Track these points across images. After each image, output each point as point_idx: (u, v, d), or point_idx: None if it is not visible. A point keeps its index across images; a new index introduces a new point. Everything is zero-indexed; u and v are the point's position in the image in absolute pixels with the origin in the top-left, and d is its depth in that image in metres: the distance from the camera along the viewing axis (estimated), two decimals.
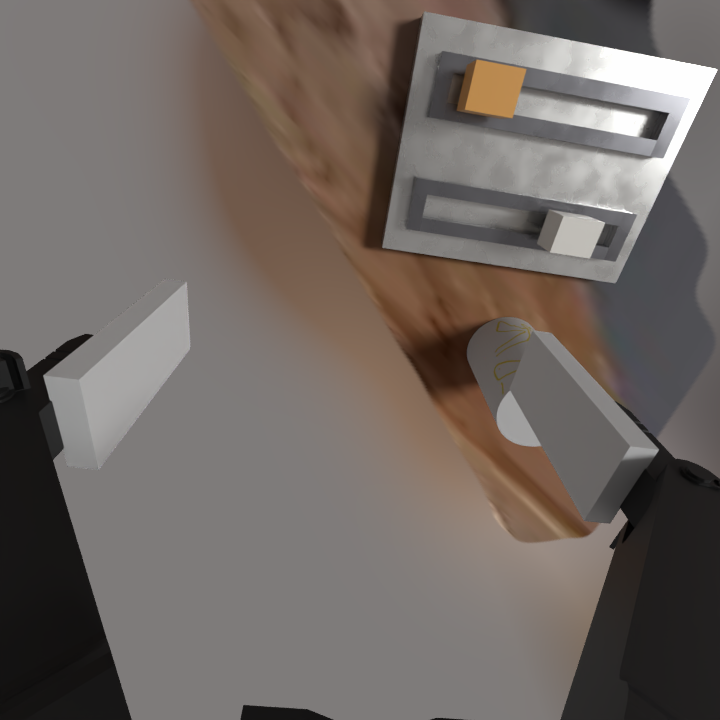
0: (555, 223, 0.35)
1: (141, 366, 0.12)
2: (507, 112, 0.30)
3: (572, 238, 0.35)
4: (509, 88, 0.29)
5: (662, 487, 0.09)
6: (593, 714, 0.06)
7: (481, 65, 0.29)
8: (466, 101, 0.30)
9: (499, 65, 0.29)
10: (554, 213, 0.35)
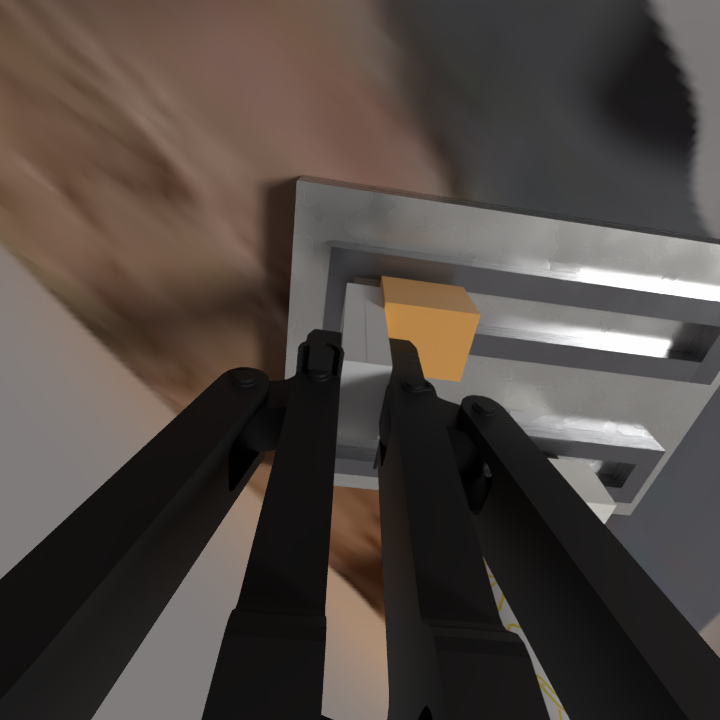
0: None
1: None
2: (450, 374, 0.17)
3: None
4: (451, 342, 0.16)
5: (395, 408, 0.10)
6: (412, 662, 0.06)
7: (395, 310, 0.15)
8: None
9: (429, 310, 0.15)
10: None
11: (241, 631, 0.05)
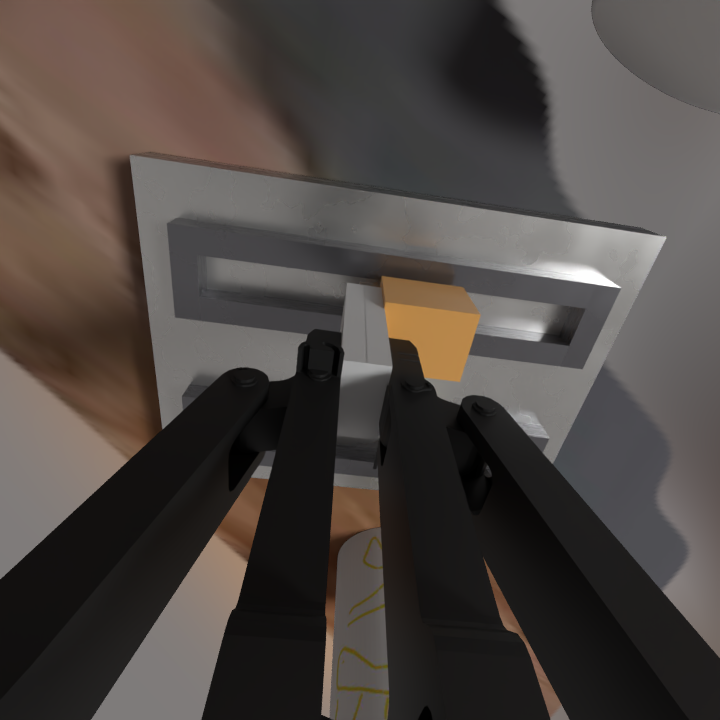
0: None
1: None
2: (450, 375, 0.17)
3: None
4: (451, 342, 0.16)
5: (395, 408, 0.10)
6: (412, 662, 0.06)
7: (395, 310, 0.15)
8: None
9: (429, 310, 0.15)
10: None
11: (241, 631, 0.05)
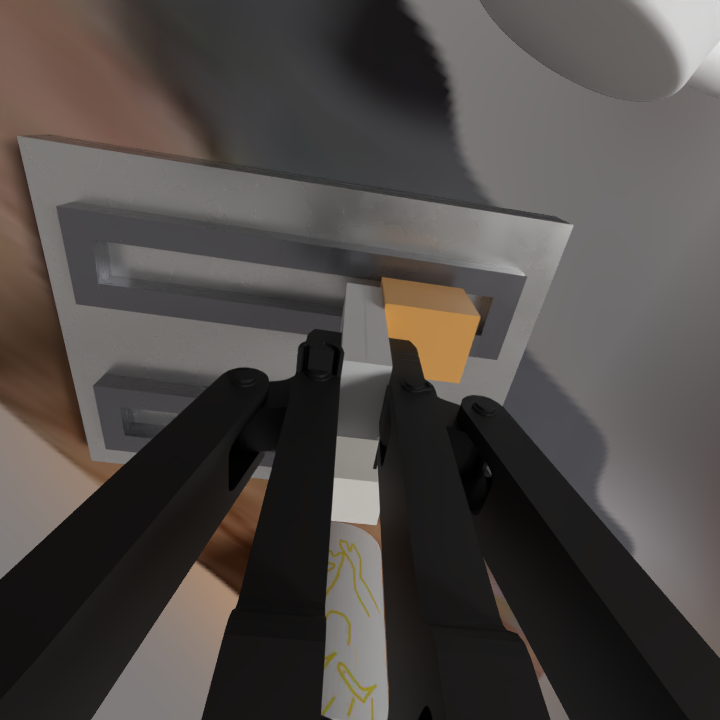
0: None
1: None
2: (449, 376, 0.17)
3: (338, 502, 0.20)
4: (451, 344, 0.16)
5: (395, 408, 0.10)
6: (412, 661, 0.06)
7: (395, 311, 0.15)
8: None
9: (429, 311, 0.15)
10: None
11: (241, 631, 0.05)
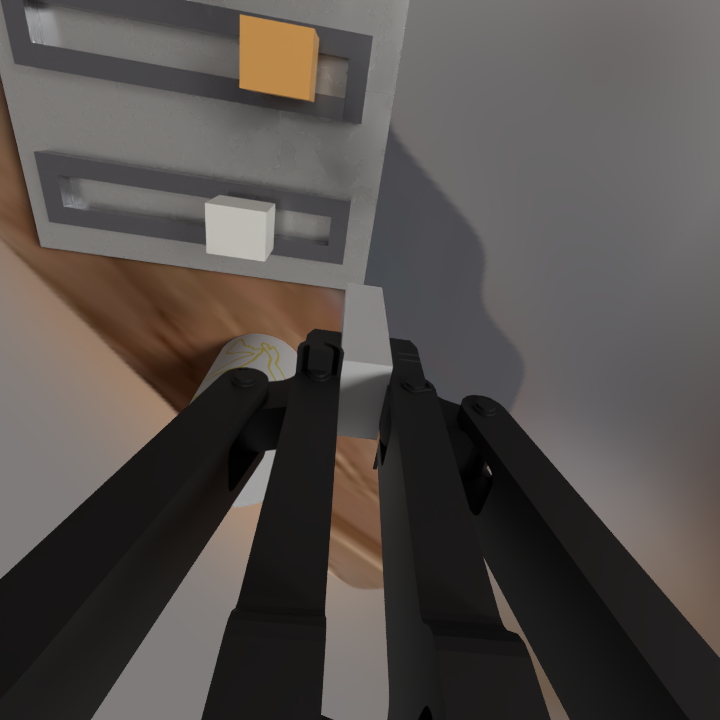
0: None
1: None
2: (299, 91, 0.21)
3: (230, 234, 0.25)
4: (296, 57, 0.21)
5: (395, 408, 0.10)
6: (413, 662, 0.06)
7: (248, 23, 0.20)
8: (240, 76, 0.21)
9: (274, 23, 0.20)
10: None
11: (241, 631, 0.05)
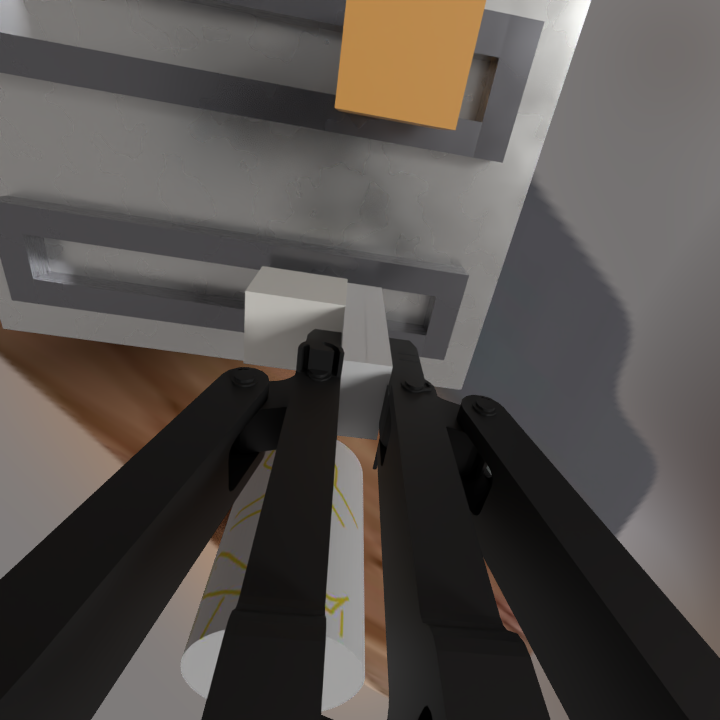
0: None
1: None
2: (442, 116, 0.12)
3: (284, 337, 0.16)
4: (444, 54, 0.11)
5: (395, 408, 0.10)
6: (412, 662, 0.06)
7: None
8: (337, 87, 0.12)
9: None
10: None
11: (241, 631, 0.05)
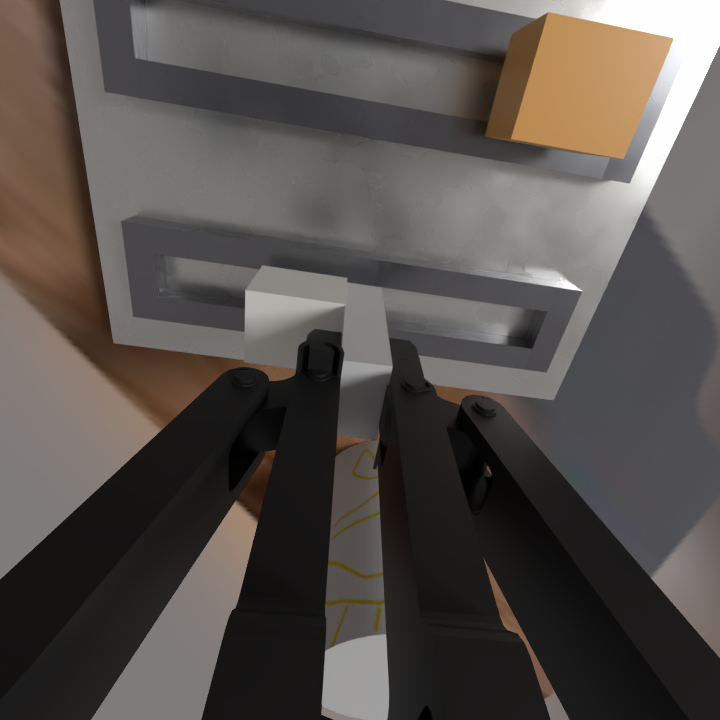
0: None
1: None
2: (613, 145, 0.12)
3: (284, 336, 0.16)
4: (625, 88, 0.12)
5: (395, 408, 0.10)
6: (412, 661, 0.06)
7: (559, 28, 0.11)
8: (515, 119, 0.12)
9: (606, 28, 0.11)
10: None
11: (241, 630, 0.05)
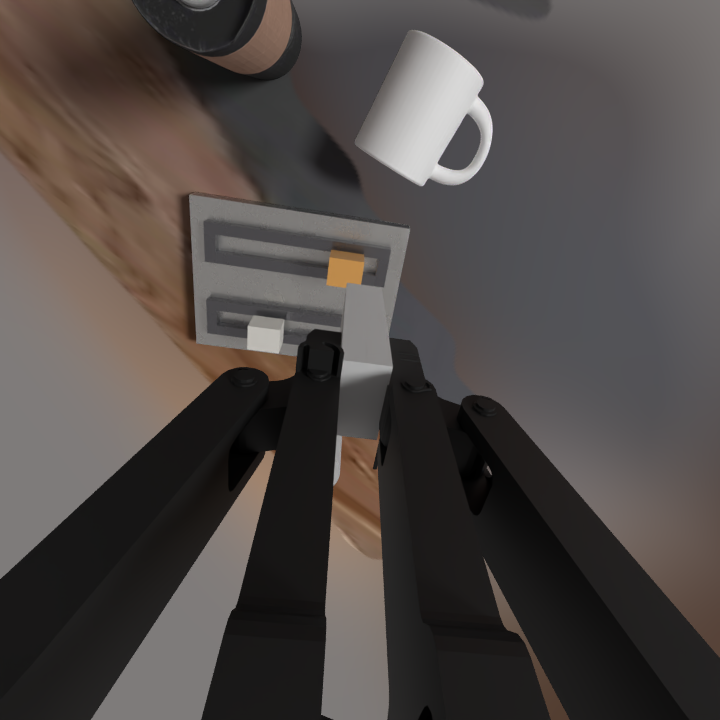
0: None
1: None
2: None
3: (260, 340, 0.47)
4: (355, 273, 0.43)
5: (395, 408, 0.10)
6: (412, 662, 0.06)
7: (333, 260, 0.42)
8: (327, 279, 0.44)
9: (345, 260, 0.42)
10: (251, 320, 0.47)
11: (241, 631, 0.05)
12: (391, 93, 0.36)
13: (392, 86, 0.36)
